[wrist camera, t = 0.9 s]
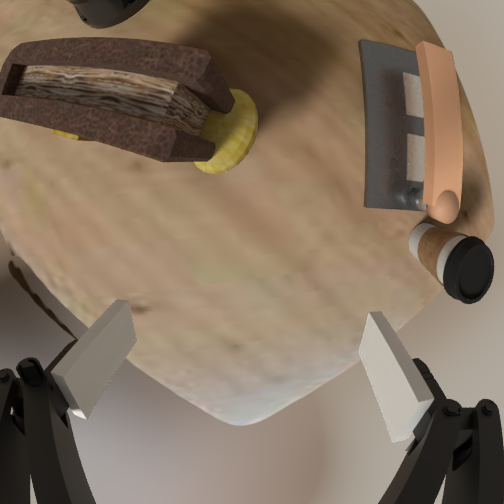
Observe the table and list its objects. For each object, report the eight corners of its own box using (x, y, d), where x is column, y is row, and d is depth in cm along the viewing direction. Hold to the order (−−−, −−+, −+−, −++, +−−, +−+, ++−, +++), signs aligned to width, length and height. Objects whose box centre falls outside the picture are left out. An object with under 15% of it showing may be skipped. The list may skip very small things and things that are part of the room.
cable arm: (414, 46, 22) (424, 39, 20) (443, 56, 22) (453, 51, 20) (421, 217, 30) (431, 222, 27) (448, 219, 30) (459, 224, 27)
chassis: (358, 42, 29) (372, 25, 23) (433, 62, 28) (454, 51, 22) (363, 206, 37) (381, 215, 31) (437, 211, 36) (460, 220, 30)
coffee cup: (408, 273, 40) (456, 318, 26) (395, 228, 38) (449, 262, 24) (445, 251, 38) (499, 286, 24) (434, 206, 36) (495, 230, 22)
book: (115, 132, 35) (-16, 126, 12) (134, 82, 33) (16, 33, 9) (246, 177, 37) (208, 202, 13) (269, 121, 34) (273, 49, 10)
